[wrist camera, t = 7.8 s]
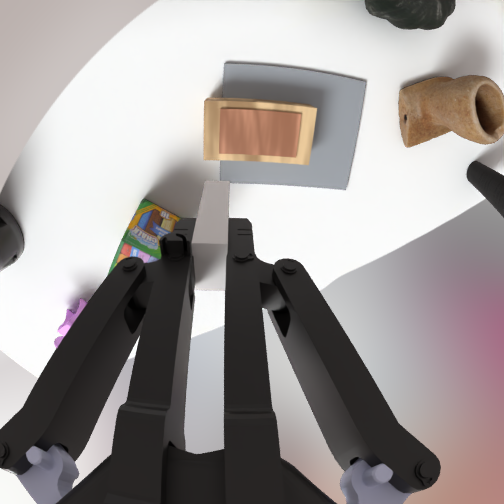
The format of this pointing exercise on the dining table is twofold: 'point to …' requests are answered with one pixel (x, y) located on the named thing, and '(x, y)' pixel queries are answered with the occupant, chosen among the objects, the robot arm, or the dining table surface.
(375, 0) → the squash
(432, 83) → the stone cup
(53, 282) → the dining table surface
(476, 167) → the drinking cup
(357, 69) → the dining table surface
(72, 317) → the toy chair
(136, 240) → the chalk box
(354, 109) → the mat
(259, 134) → the oak slab
